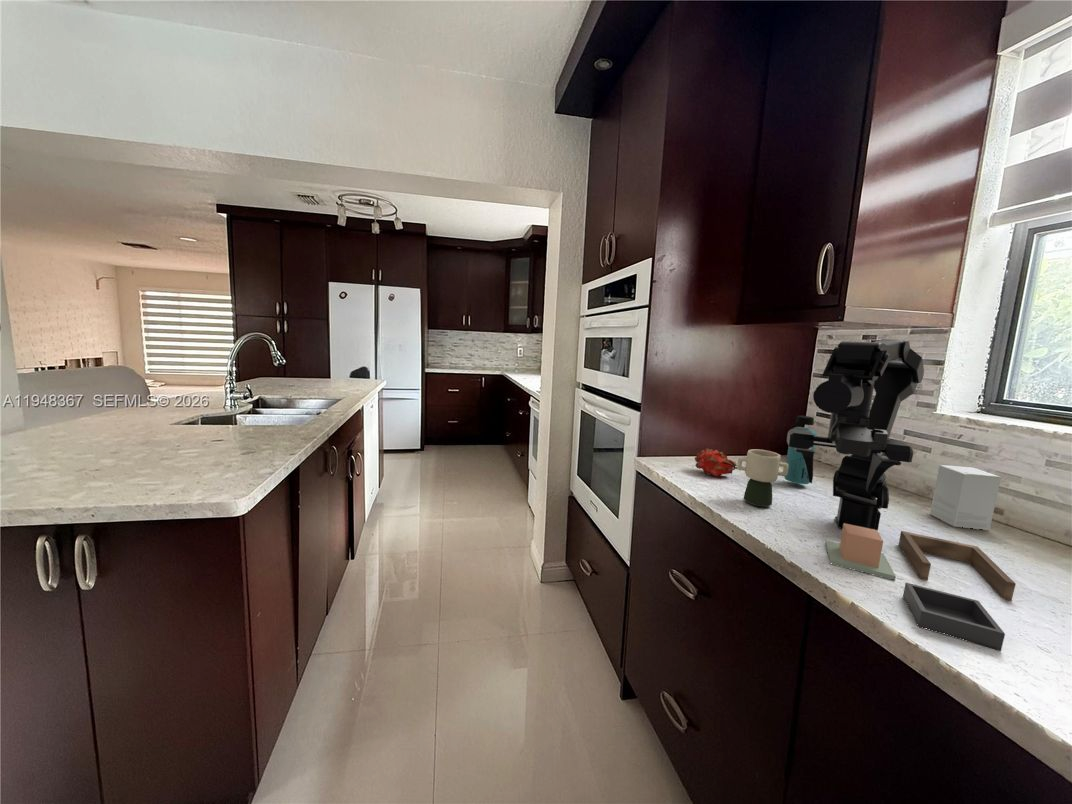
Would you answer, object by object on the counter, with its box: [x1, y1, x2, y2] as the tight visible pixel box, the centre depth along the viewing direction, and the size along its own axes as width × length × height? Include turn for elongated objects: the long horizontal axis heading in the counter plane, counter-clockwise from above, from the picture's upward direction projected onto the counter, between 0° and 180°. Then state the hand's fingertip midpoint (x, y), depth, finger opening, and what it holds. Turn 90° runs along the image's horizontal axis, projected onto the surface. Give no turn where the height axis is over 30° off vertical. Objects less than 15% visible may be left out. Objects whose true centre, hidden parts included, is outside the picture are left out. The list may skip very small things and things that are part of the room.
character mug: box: [736, 448, 788, 508], centre depth 100 cm, size 11×7×13 cm, turn 69°
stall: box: [898, 530, 1017, 602], centre depth 74 cm, size 11×14×3 cm
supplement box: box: [929, 464, 1002, 531], centre depth 94 cm, size 7×7×13 cm
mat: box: [824, 539, 897, 581], centre depth 75 cm, size 9×9×1 cm
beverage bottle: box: [783, 415, 818, 485], centre depth 115 cm, size 6×7×20 cm
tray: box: [902, 582, 1006, 652], centre depth 59 cm, size 8×8×2 cm
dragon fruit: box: [694, 448, 738, 479], centre depth 122 cm, size 8×8×12 cm
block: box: [839, 523, 884, 568], centre depth 75 cm, size 5×5×5 cm
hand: (838, 487), depth 80 cm, fingers open, 9 cm apart
